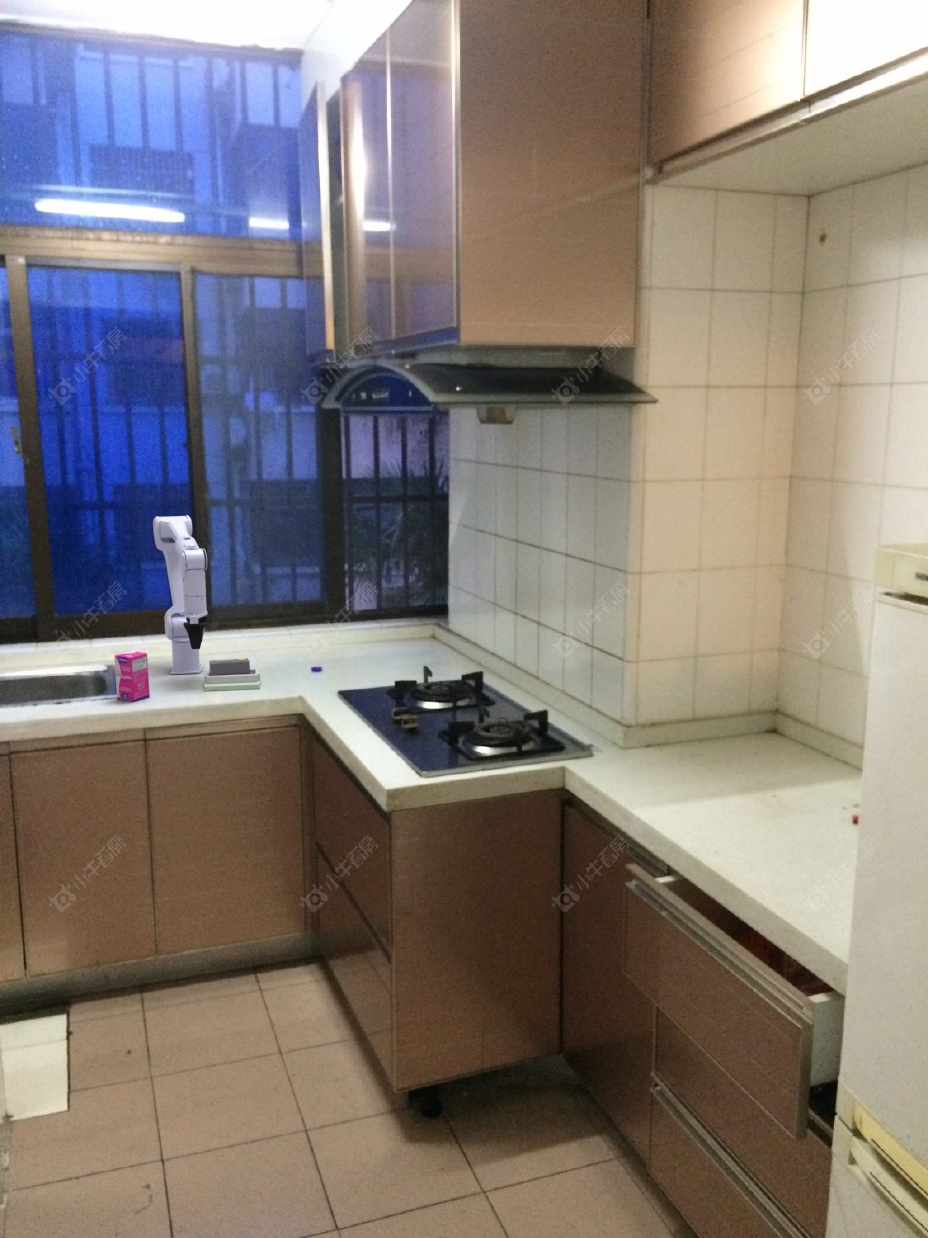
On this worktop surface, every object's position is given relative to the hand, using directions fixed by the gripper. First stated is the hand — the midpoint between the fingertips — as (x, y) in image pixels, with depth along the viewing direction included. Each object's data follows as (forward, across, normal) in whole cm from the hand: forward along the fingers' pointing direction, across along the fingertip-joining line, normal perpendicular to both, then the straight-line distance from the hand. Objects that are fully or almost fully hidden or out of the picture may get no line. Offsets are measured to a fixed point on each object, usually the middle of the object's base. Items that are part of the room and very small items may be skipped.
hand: (196, 646), depth 272 cm
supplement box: (+10, +14, -15) cm, 23 cm away
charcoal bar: (+9, +3, +8) cm, 12 cm away
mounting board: (+10, +3, +9) cm, 14 cm away
